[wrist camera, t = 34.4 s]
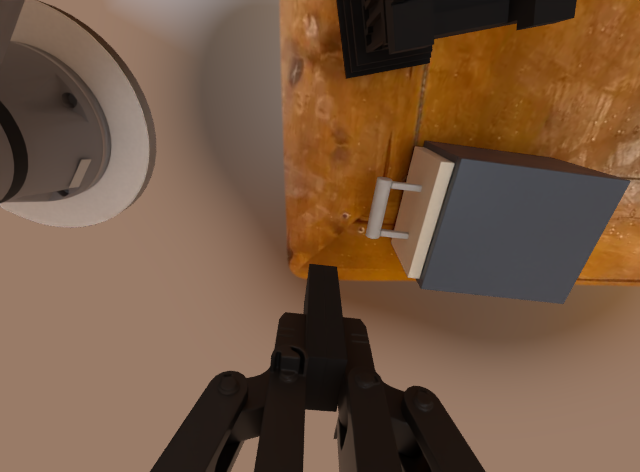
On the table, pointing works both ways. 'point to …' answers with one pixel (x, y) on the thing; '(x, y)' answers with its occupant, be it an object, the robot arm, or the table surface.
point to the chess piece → (428, 27)
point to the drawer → (413, 208)
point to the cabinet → (516, 224)
